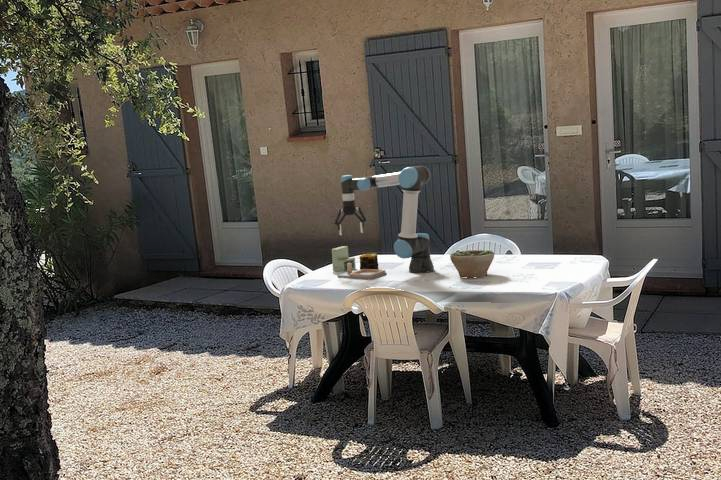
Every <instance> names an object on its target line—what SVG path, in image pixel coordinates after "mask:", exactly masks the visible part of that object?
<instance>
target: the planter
mask: <svg viewBox="0 0 721 480" xmlns="http://www.w3.org/2000/svg"><path fill="white" fill-rule="evenodd" d="M449 256H450V257H449V258H450V261H451V263H452V264H453V266H454V268H456V271H457V272H458V276H460V277H459V278H461V277H467V278H466V279H475V278H474V277H481V278H484V277H483V276H485V277H487V276H488V271H489V268H491V267H490V266H491V265H492V262H493V260H494V258H495V252H494V251H493V250H481V249H474V250H461V251H455V252H454V251H453V252H452V253H450V254H449ZM486 275H487V276H486Z"/></svg>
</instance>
